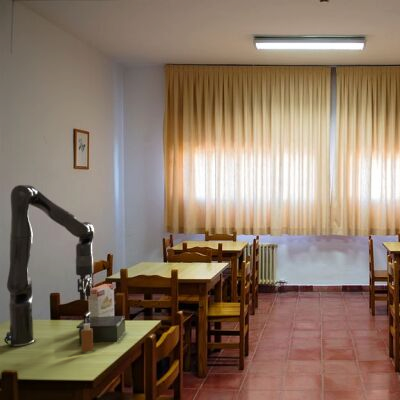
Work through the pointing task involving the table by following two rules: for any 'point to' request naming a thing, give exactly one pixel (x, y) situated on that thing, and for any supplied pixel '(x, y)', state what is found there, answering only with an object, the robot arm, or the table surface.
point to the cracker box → (101, 301)
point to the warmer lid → (100, 321)
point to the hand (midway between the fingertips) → (85, 298)
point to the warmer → (106, 333)
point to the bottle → (87, 338)
